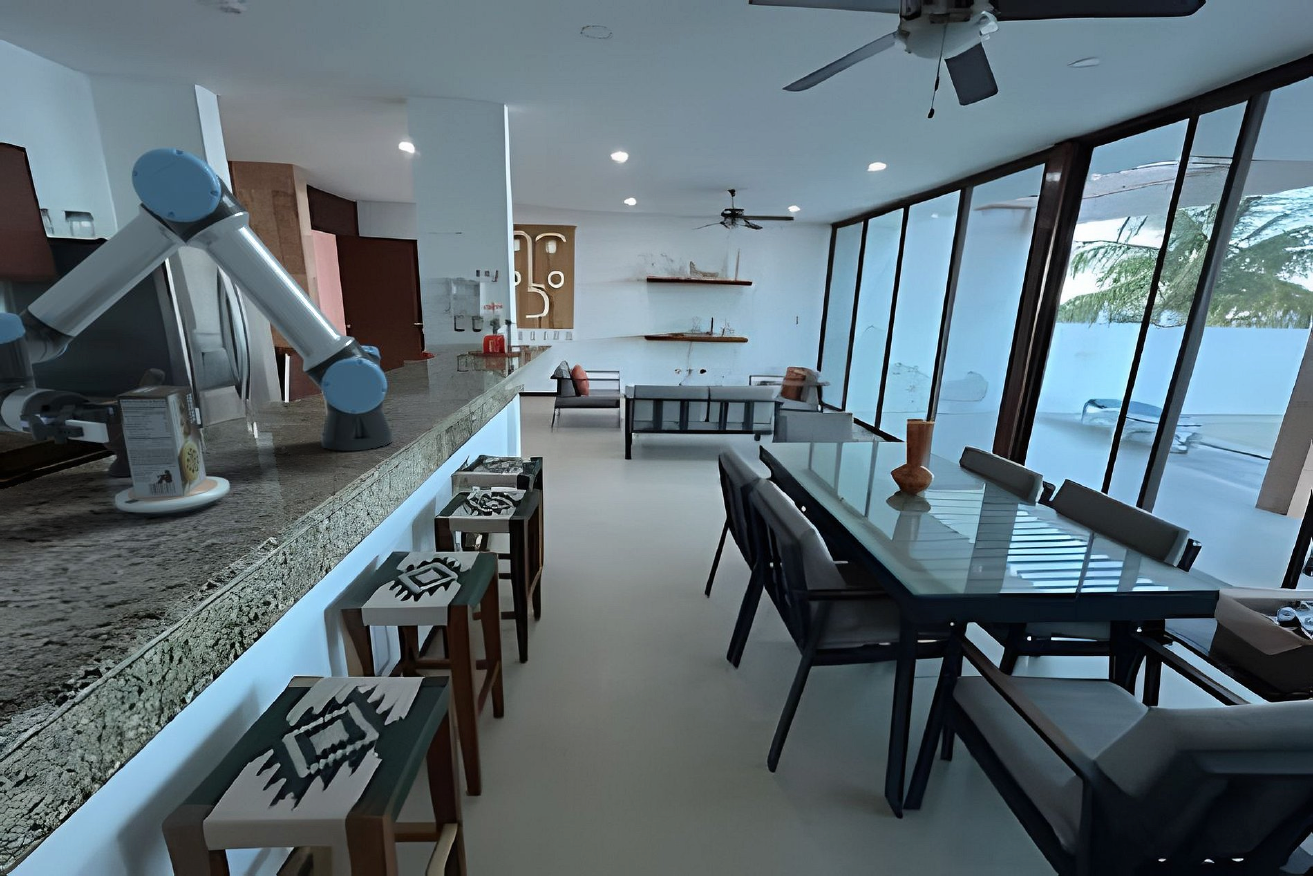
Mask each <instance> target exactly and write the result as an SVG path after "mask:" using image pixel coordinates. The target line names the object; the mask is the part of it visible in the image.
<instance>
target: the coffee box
mask: <svg viewBox="0 0 1313 876" xmlns="http://www.w3.org/2000/svg"><path fill="white" fill-rule="evenodd" d="M192 387H193V386H192V385H189V386H188V385H187V386H186V385H184V386H181V385H179V386H176V385H160V386H144V387H141V388H134V389H131V390H129V391H125V392H124V393H121V394H117V395H116V396H115V397H116V401H118V406H119V411H120V417H121V422H122V427H123V433H124V438H125V443H126V448H127V454H128V460H129V465H130V471H131V481H132V487H134V492H135V497H136V499H141V498H158V497H175V496H185V495H186V494H187V493H189V492H190V491H191V490H192V489H193V488H195V487H196V486H197V485H198V484H200V483H201V482H202V481H203V480H204V479H206V476H207V475H206V474H207V473H206V468H205V463H204V457H203V456H204V454H203V450H202V442H201V436H200V431H199V426H198V425H199V424H198V423H197V417H196V411H195V408H196V407H195V400H194V399H195V398H194V394H193V388H192Z"/></svg>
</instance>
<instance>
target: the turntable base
mask: <svg viewBox="0 0 1313 876" xmlns="http://www.w3.org/2000/svg"><path fill="white" fill-rule="evenodd" d="M216 503H217V499H216V500H214V501H211V502H208V503H204V504H201V505H197V506H192V507H187V508H182V509H176V510H169V511H159V512H135V515H136V516H138V517H141V518H148V519H159V518H160V519H161V518H163V519H164V518H171V517H179V516H185V515H189V514H194V513H197V512H201V511H203V510H204V511H205V510H206V509H209V508H211V507H213V506H214V505H215V504H216Z"/></svg>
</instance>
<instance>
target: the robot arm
mask: <svg viewBox="0 0 1313 876" xmlns="http://www.w3.org/2000/svg"><path fill="white" fill-rule="evenodd" d="M131 182H132V186H133V189H134V192H135V193H136V195H137V196H138V199H140V201H141V203H140V204H139V205H138V211H139V213H138V215H137V216H135V217H134V218H133V219H132V220H131V221H130V222H128V223H126V225H125V226H123V227H122V228H121V229H120V230H118V231H117V232H116V233H115V234H114V235H112V237H110V238H109V239H108V240H106V241H105V242H104V243H103V244H102V245H101V246H99V247H98V248H97V249H96V250H95V251H93V252H92V253H90V254H89V256H88V257H86V258H85V259H84V260H82V261H81V262H80V263H79V264H77V265H76V266H75V267H74V268H73V269H72V270H70V271H69V272H68V273H67V274H66V275H64V276H63V277H62V278H61V279H60V280H59V281H57V282H56V283H55V284H54V285H53V286H51V287H50V288H49V289H48V290H47V291H45V292H44V293H43V294H42V295H41V296H39V297H38V298H37V299H36V300H34V301H33V302H32V303H31V304H29V305H28V306H27V308H25V309H24V310H22V311H20V313H19V314H18V315H17V314H16V313H11V312H0V431H7V432H15V433H16V432H18V433H25V434H31V436H32V438H33V439H34V441H35V442H38V443H40V442H42V443H43V442H45V441H48V437H51V438H52V437H53V439H54V443H55V445H63V444H67V443H68V440H67V438H68V439H69V440H75V441H77V440H78V441H85V442H95V443H99V444H100V443H102V444H103V443H105V442H109V439H108V434H107V428H106V425H118V424H120V423H122V422H121V417H120V411H119V406H118V402H114V403H107V404H100V402H97V401H96V402H91V401H90V400H89V399H87V397H85V396H84V395H81V394H80V393H76V392H74V391H73V392H72V391H67V390H65V391H64V390H55V389H50V388H49V389H47V388H36V383H35V377H34V371H33V368H32V364H36V363H45V362H49V361H52V360H54V359H57V358H58V357H59V356H61V355H63V353H65V351H66V350H67V349H68V344H70V342H72V341H73V340H74V339H75V338H76V337H77V336H78V335H79V334H80V333H82V331H83V330H85V329H86V328H87V327H88V326H90V325H91V324H92V323H93V322H94V321H95V320H96V319H98V318H99V317H100V316H101V315H103V313H105V312H106V311H107V310H109V309H110V308H111V307H112V306H113V305H114V304H116V302H118V301H119V300H120V299H122V297H123V296H125V295H126V294H127V293H128V292H129V291H131V290H132V289H133V288H134V287H136V285H138V284H139V283H140V282H142V280H144V279H145V278H146V277H148V275H150V273H152V272H153V271H155V269H156V268H157V267H159V266H160V265H161V264H163V263H164V262H166V260H167V259H169V258H170V257H171V256H172V255H173V254H175V252H176V251H178V250H179V249H180V248H181V247H189V248H195V249H199V250H202V251H204V252H205V253H206V254H207V256H209V258H210V259H211V260H212V261H213V262H214V263H215V264H216V265H217V266H218V267H219V269H220V270H221V271H222V272H223V273H224V274H225V275H226V276H227V277H228V278H229V279H230V281H232V282H233V284H234V285H235V286H236V287H237V288H238V289H239V290H240V291H241V293H242V294H243V295H244V296H245V297H246V298H247V299H248V301H250V302H251V303H252V304H253V305H254V307H255V308H256V309H257V310H258V311H259V312H260V313H261V314H262V315H263V316H264V317H265V319H266V320H267V321H268V322H269V323H270V324H271V325H272V327H274V328H275V330H277V332H278V333H279V334H280V335H281V336H282V337H283V338H284V340H286V342H287V343H288V344H289V345H290V347H292V348H293V350H295V351H296V353H297V354H298V355H299V356H300V357H301V358H302V359H303V365H302V371H303V372H304V373H305V374H306V375H307V376H308V378H310V380H312V382H313V383H314V384H315V385H316V386H317V387H318V388H319V389H320V390H321V392H322V394H323V397H324V400H325V401H326V417H325V421H324V426H323V431H322V433H321V435H320V439H321V440H320V441H321V447H322V446H323V447H322V448H324V449H326V448H327V450H331V451H343V452H344V451H345V452H346V451H347V452H348V451H352V452H353V451H365V450H372V449H371V448H373V449H377V447H379V448H381V447H380V446H383V447H386V446H388V445H387V444H389V443H391V442H392V441H393V442H394V432H393V429H391V426H390V424H389V421H388V418H387V416H386V414H385V412H384V405H383V404H384V403H383V400H384V399H385V396H386V394H387V390H388V382H387V381H388V380H387V376H386V374H385V373H384V371H383V370H382V368H381V363H380V362H381V355H380V351H379V349H378V347H376V346H372V345H361V344H360V343H359V342H358V341H357V340H356V338H355V337H353V336H347V335H343V334H341V333H340V331H339V330H338V329H337V328H336V327H335V325H334V324H332V322H331V321H330V320H329V318H328V317H327V316H326V314H324V313H323V312H322V310H321V309H320V308H319V307H318V305H316V303H315V302H314V301H313V300H312V299H311V297H309V295H308V294H307V293H306V292H305V290H304V289H303V288H302V287H301V285H299V284H298V282H297V281H296V280H295V279H294V278H293V277H292V275H291V274H290V273H289V272H288V271H287V269H286V268H285V267H284V266H283V265H282V264H281V262H279V260H278V259H277V258H276V256H274V254H273V253H272V252H271V250H269V248H268V247H267V246H266V245H265V244H264V243H263V241H262V240H261V239H260V238H259V237H258V235H257V234H256V233H255V232H254V231H253V230H252V229H251V227H250V224H249V222H250V221H249V220H250V213H249V212H248V211H247V209H246V208H245V207H244V206H243V205H242V203H241V202H240V201H239V200H238V199H237V198H236V196H235V195H234V194H233V193H232V192H231V190H230V189H229V188H228V186H227V184H226V183H225V181H224V180H223V179H222V178H221V177H220V176H219V175H218V174H216V172H215V171H214V169H213V167H211V166H210V165H209V164H208V163H207V162H206V161H205V160H203V159H201V158H200V157H198V156H196V155H195V154H193V153H190V152H187V151H185V150H181V149H177V148H170V147H160V148H156V149H152V150H149V151H146V152H144V154H142V155H140V156H139V157H138V159H137V160H136V161H135V163H134V165H133V167H132V170H131ZM195 411H196V417H197V423H198V425H201V423H202V422H201V417H200V416H201V415H200V409H199V408H198V407H195ZM111 414H114V419H115V420H112V421H109V420H110V416H111ZM393 442H392V443H393ZM392 443H391V444H392ZM385 445H386V446H385ZM389 445H390V444H389Z"/></svg>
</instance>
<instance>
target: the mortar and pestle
mask: <svg viewBox="0 0 1313 876" xmlns="http://www.w3.org/2000/svg"><path fill="white" fill-rule="evenodd" d="M165 377H166V374H165V372H164V371H163V370H161V369H158V368H154V367H153V368H150V369H148V370H146V371H145V373H144V374H143V376H142V378H141V380H140V383H139V385H138V388H141V387H144V386H162V383H163V381H164V380H165ZM114 402H118V400H113V401H107V402H102V403H100V402H99V403H100V404H107V403H114ZM112 420H115V419H114V414H111V416H110V420H109V421H112ZM106 428H107V434H108V439H109V442H105V443H102V445H103V447H104V448H106V449H107V450H108V451H111V452H112V453H114V454H115V456H116V458H115V459H114V461H113V462H112V463H110V464H109V467H108V470H107V471H108V475H109V477H110V476H111V477H130V476H131V471H130V465H129V460H128V454H127V448H126V443H125V438H124V433H123V427H122V423H120V424H118V425H106ZM131 477H132V476H131Z"/></svg>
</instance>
